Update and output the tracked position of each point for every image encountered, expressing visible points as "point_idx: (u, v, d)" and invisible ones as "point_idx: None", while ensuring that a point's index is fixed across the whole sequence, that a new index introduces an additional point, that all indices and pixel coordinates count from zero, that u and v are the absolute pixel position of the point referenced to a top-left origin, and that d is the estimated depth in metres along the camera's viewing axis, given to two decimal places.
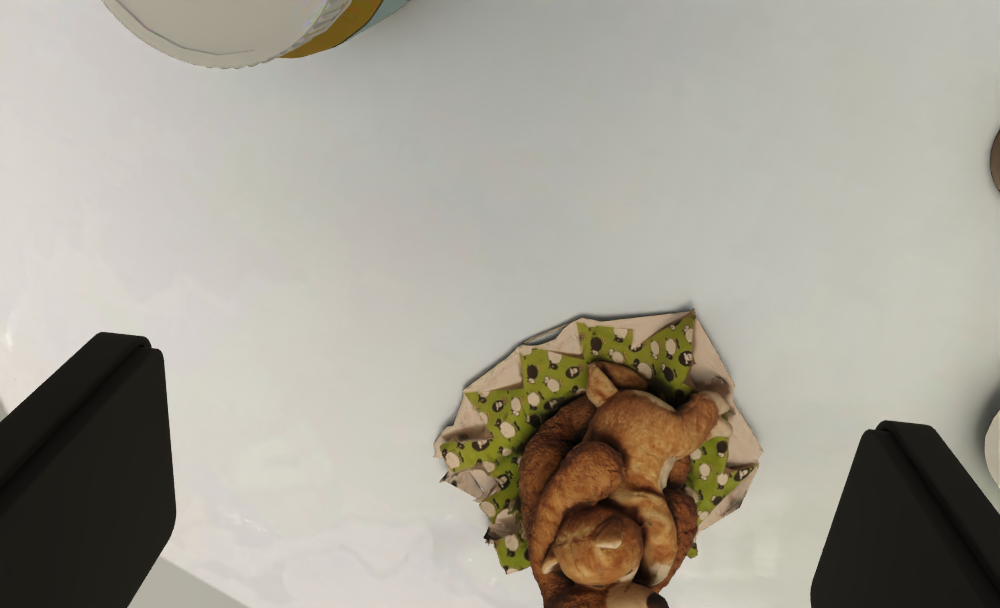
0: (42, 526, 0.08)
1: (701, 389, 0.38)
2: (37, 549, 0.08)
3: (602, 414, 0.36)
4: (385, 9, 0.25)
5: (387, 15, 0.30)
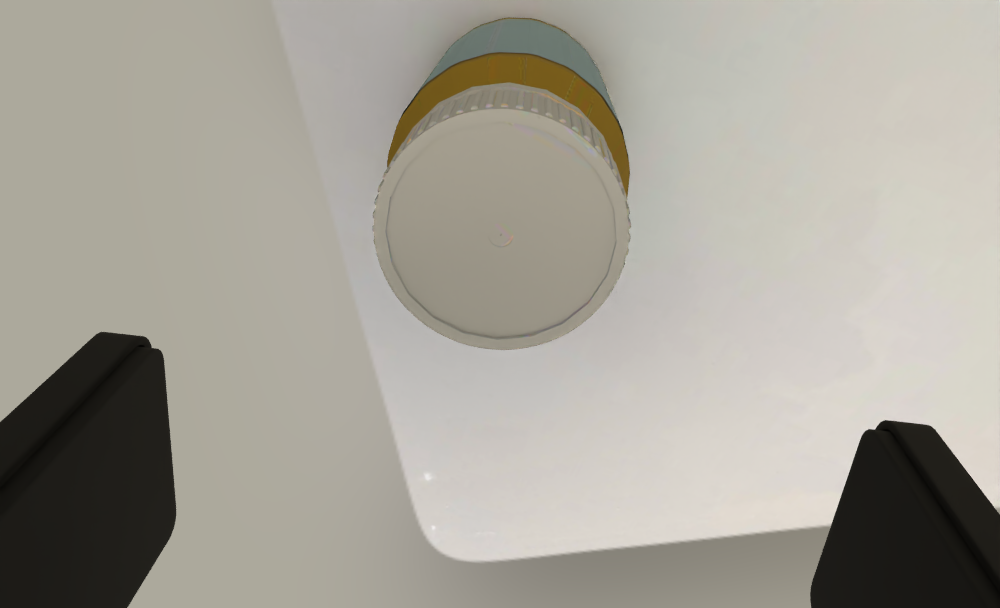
0: (42, 526, 0.08)
1: None
2: (37, 549, 0.08)
3: None
4: (590, 75, 0.25)
5: (599, 75, 0.29)
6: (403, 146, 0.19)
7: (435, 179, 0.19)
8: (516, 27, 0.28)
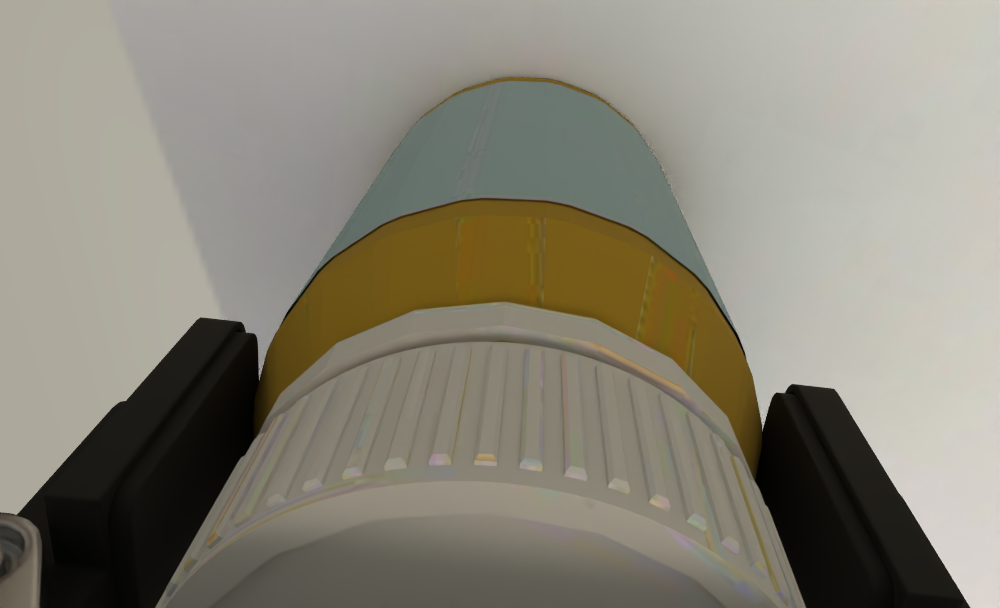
0: (171, 494, 0.09)
1: None
2: (167, 516, 0.09)
3: None
4: (669, 220, 0.13)
5: (667, 184, 0.17)
6: (207, 536, 0.07)
7: None
8: (522, 105, 0.16)
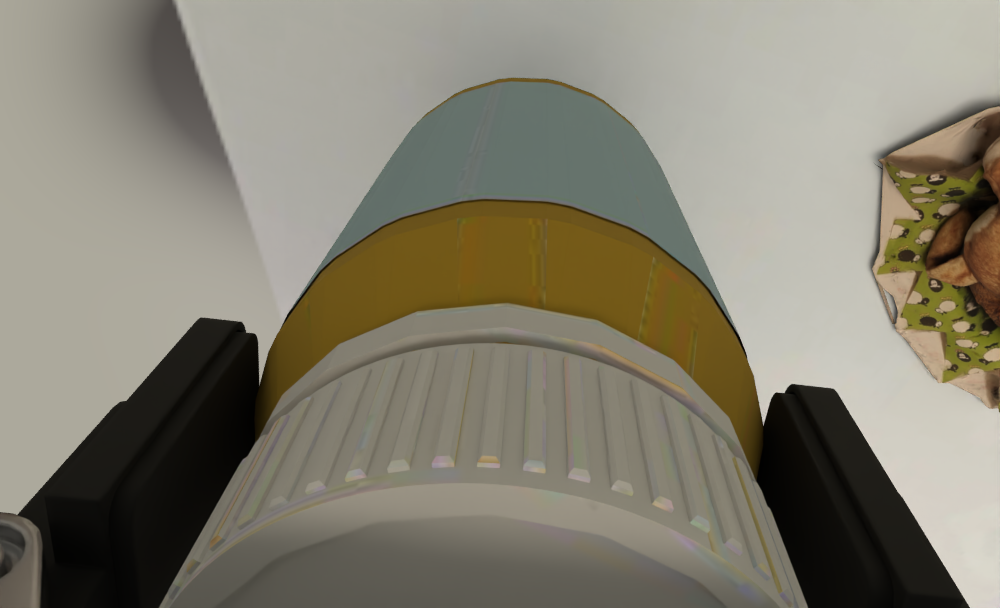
0: (172, 494, 0.09)
1: (988, 142, 0.33)
2: (168, 515, 0.09)
3: (985, 285, 0.32)
4: (670, 221, 0.13)
5: (667, 185, 0.17)
6: (210, 538, 0.07)
7: None
8: (523, 105, 0.16)
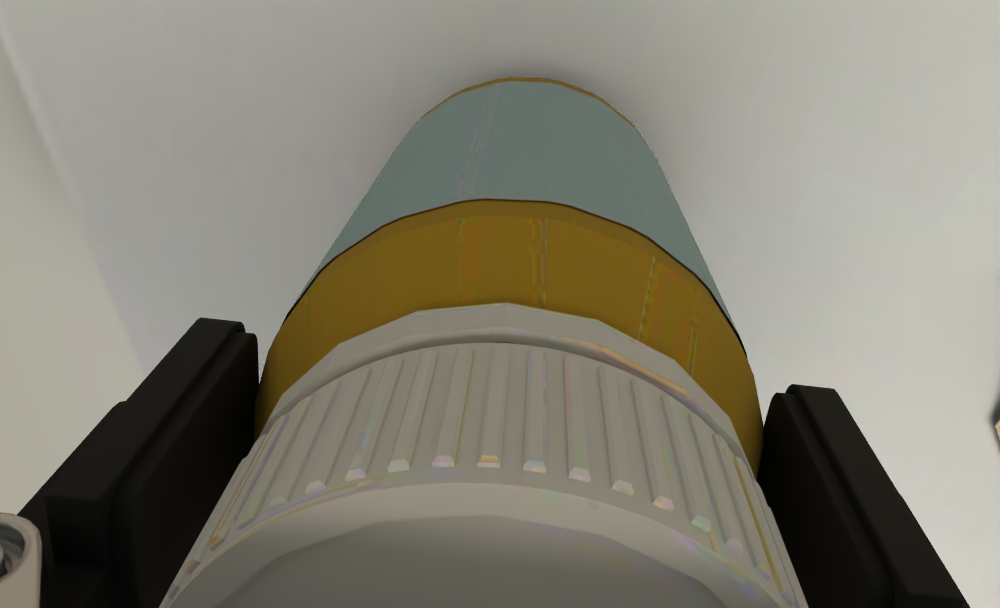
0: (171, 495, 0.09)
1: None
2: (167, 516, 0.09)
3: None
4: (669, 220, 0.13)
5: (667, 184, 0.17)
6: (209, 537, 0.07)
7: None
8: (522, 105, 0.16)
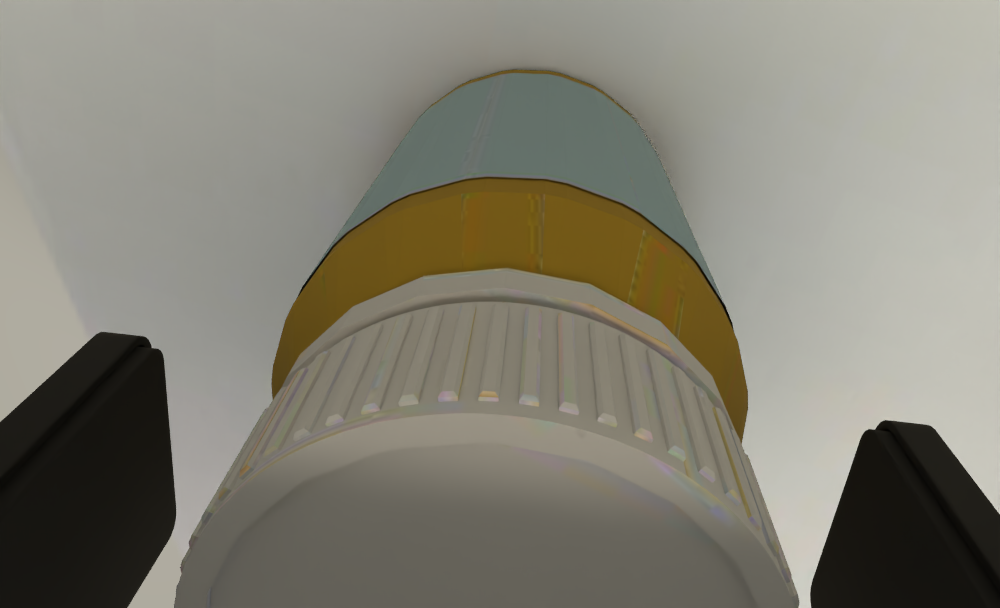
0: (42, 526, 0.08)
1: None
2: (37, 549, 0.08)
3: None
4: (662, 201, 0.13)
5: (663, 171, 0.18)
6: (238, 470, 0.08)
7: (319, 555, 0.08)
8: (524, 95, 0.17)
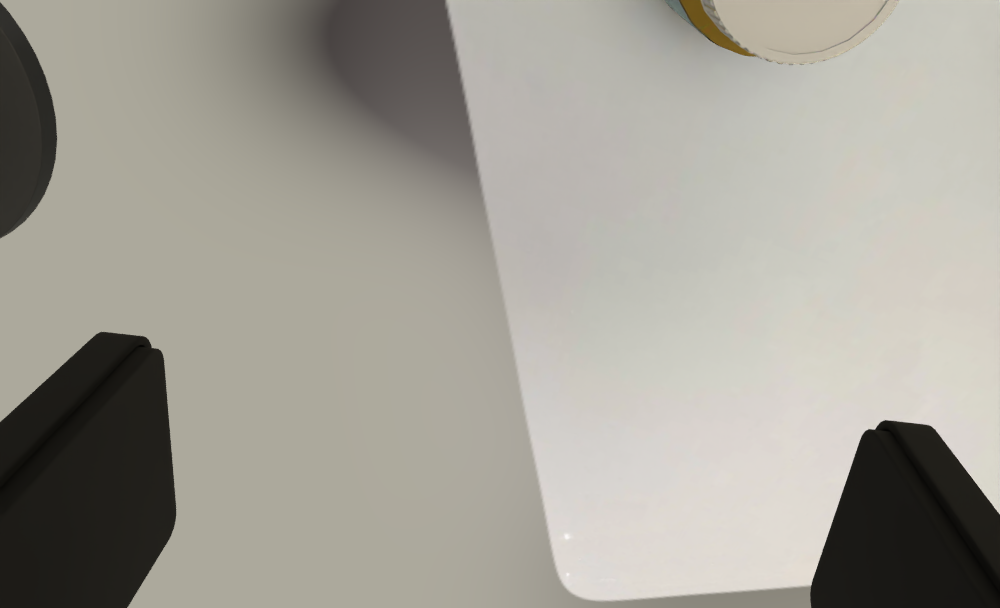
0: (42, 526, 0.08)
1: None
2: (37, 549, 0.08)
3: None
4: None
5: None
6: None
7: None
8: None
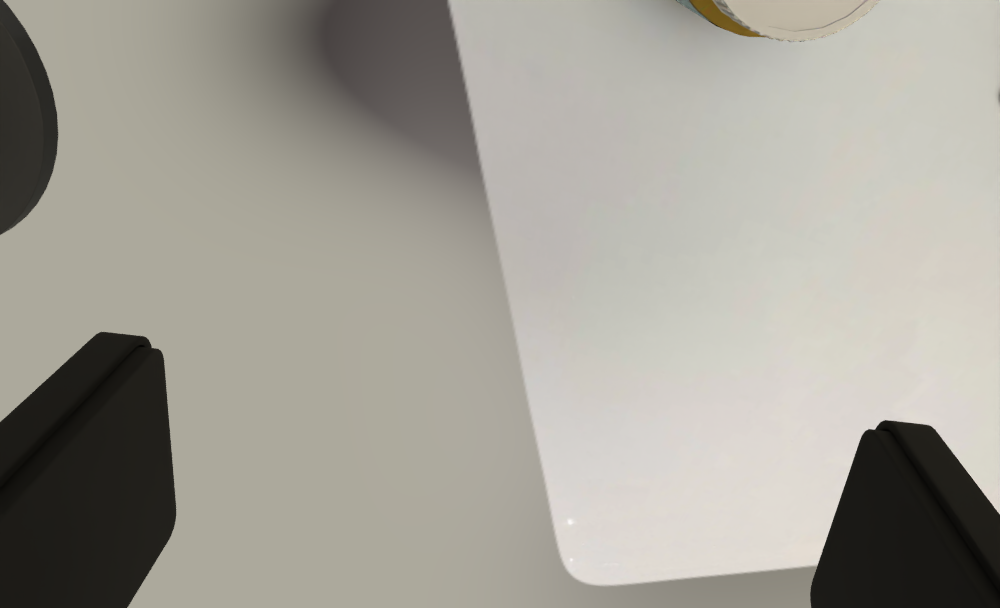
0: (42, 526, 0.08)
1: None
2: (37, 549, 0.08)
3: None
4: None
5: None
6: None
7: None
8: None
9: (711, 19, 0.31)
